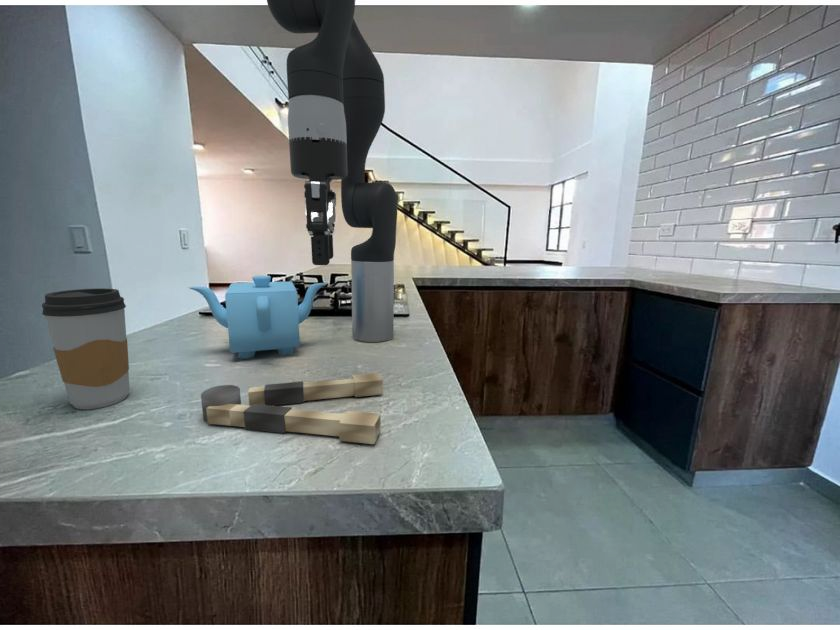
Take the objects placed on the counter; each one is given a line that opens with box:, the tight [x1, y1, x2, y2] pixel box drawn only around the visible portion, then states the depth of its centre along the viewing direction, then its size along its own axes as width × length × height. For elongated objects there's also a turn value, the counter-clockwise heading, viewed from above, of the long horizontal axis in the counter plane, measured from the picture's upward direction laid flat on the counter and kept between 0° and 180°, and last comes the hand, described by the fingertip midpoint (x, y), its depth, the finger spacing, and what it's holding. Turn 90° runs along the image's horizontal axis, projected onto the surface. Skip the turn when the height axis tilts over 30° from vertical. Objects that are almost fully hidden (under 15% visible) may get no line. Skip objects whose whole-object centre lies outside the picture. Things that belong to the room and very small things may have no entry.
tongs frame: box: [200, 384, 381, 445], centre depth 47 cm, size 23×6×3 cm, turn 82°
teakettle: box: [187, 274, 329, 360], centre depth 76 cm, size 19×19×15 cm
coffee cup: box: [41, 288, 131, 410], centre depth 51 cm, size 8×8×15 cm
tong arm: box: [247, 372, 384, 406], centre depth 54 cm, size 18×3×2 cm, turn 107°
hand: (323, 261), depth 55 cm, fingers open, 8 cm apart
